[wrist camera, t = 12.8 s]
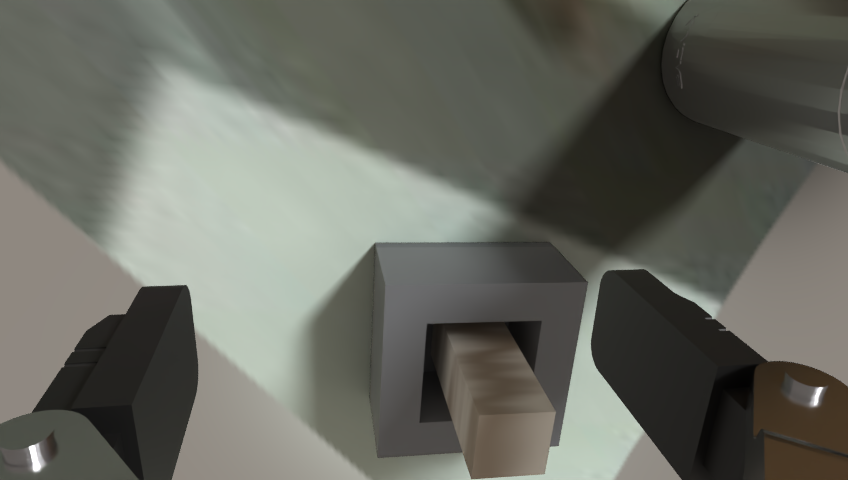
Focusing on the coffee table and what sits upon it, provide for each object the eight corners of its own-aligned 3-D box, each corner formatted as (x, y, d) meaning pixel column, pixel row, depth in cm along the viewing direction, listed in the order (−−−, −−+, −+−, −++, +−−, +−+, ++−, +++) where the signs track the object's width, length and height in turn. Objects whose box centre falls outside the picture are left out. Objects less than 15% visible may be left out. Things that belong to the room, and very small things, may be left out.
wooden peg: (492, 301, 42) (556, 411, 31) (485, 351, 43) (544, 474, 32) (434, 302, 41) (479, 415, 30) (430, 353, 42) (471, 479, 31)
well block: (550, 242, 42) (587, 282, 36) (527, 389, 46) (558, 446, 40) (375, 242, 39) (385, 285, 34) (369, 396, 44) (377, 457, 38)
